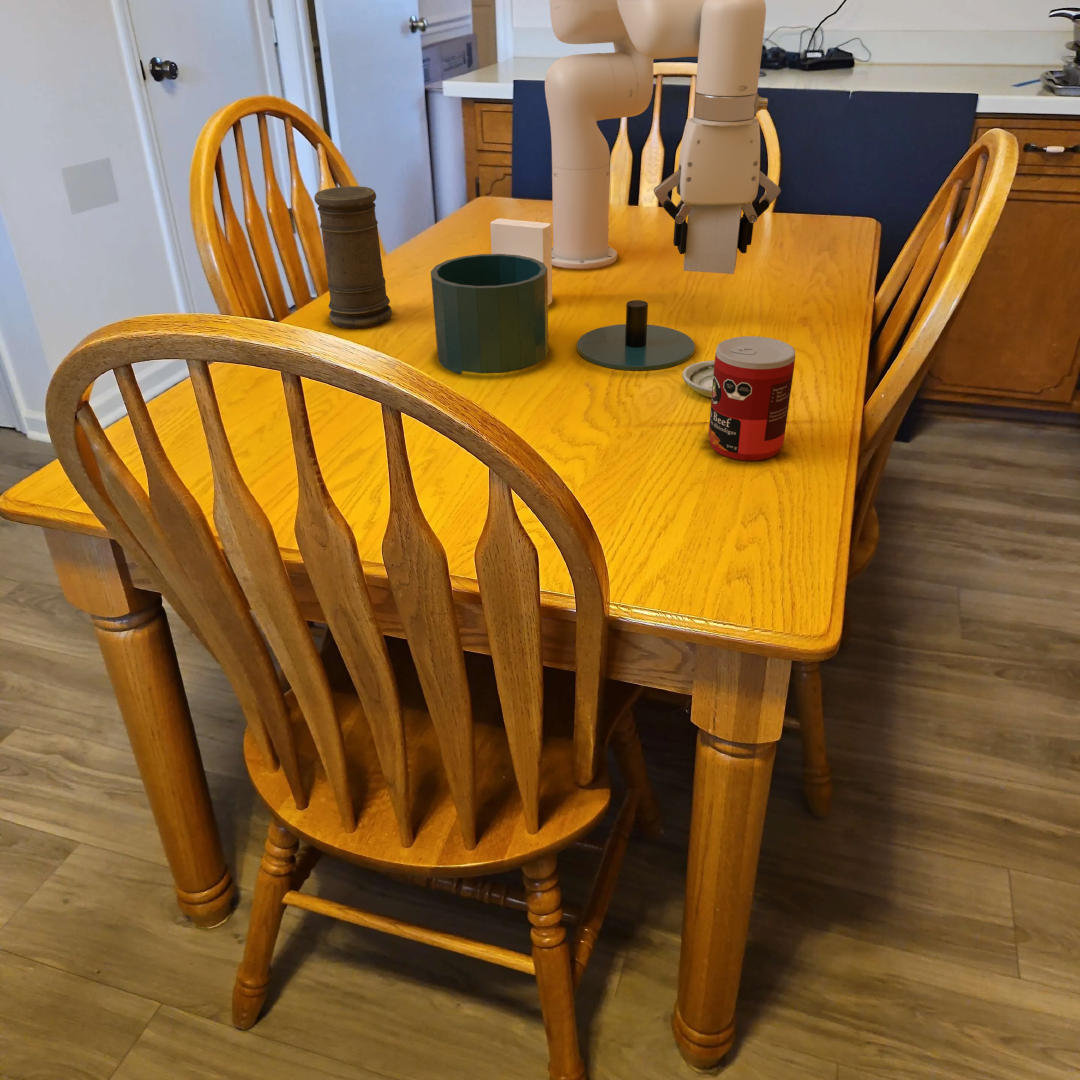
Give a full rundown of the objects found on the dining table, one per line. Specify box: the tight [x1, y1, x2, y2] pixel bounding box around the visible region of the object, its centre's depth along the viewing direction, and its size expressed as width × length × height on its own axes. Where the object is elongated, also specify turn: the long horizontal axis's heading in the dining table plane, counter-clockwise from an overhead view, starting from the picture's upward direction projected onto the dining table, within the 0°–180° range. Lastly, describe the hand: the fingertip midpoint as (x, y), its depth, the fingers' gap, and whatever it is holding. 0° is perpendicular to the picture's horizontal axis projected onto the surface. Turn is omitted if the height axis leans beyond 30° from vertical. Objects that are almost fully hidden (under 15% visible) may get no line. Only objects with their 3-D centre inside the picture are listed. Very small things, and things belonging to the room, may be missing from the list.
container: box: [313, 185, 393, 329], centre depth 132 cm, size 9×9×18 cm
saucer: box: [681, 359, 715, 399], centre depth 111 cm, size 10×10×2 cm
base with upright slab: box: [489, 218, 553, 306], centre depth 138 cm, size 9×9×12 cm
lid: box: [576, 299, 696, 372], centre depth 122 cm, size 16×16×7 cm
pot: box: [430, 253, 550, 375], centre depth 121 cm, size 15×15×12 cm
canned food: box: [708, 335, 796, 462], centre depth 97 cm, size 8×8×11 cm
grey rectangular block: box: [682, 204, 743, 275], centre depth 124 cm, size 4×7×10 cm, turn 76°
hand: (711, 250), depth 125 cm, fingers closed on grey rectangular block, 7 cm apart
